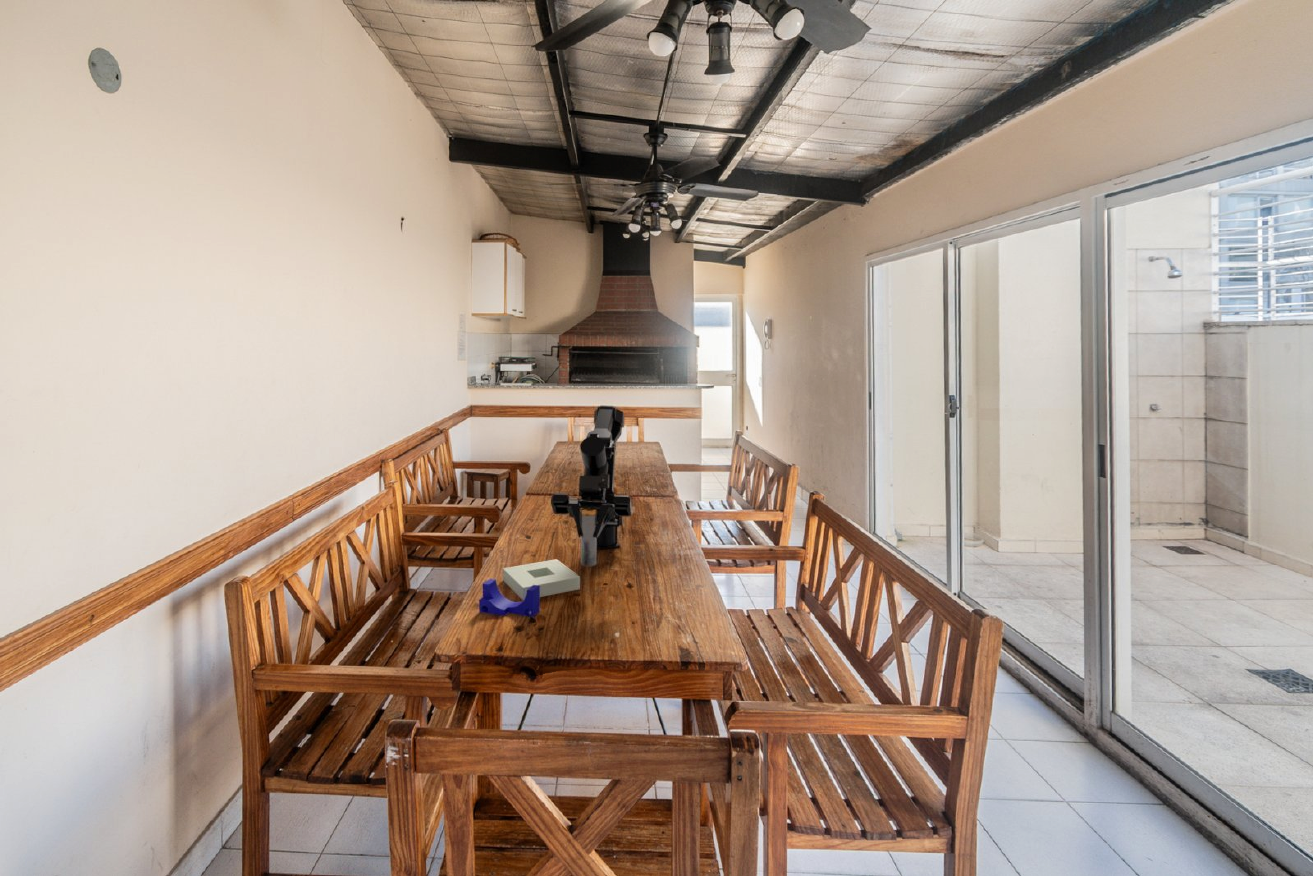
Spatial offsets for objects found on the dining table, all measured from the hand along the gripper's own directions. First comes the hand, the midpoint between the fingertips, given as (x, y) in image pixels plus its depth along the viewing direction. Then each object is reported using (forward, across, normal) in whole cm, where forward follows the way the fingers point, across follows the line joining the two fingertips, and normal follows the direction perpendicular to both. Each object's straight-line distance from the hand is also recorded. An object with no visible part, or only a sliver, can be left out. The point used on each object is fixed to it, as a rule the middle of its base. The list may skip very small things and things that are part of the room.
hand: (587, 536), depth 146 cm
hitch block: (+7, -12, +12) cm, 18 cm away
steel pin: (+4, 0, +6) cm, 7 cm away
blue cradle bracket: (+18, -15, +1) cm, 24 cm away
